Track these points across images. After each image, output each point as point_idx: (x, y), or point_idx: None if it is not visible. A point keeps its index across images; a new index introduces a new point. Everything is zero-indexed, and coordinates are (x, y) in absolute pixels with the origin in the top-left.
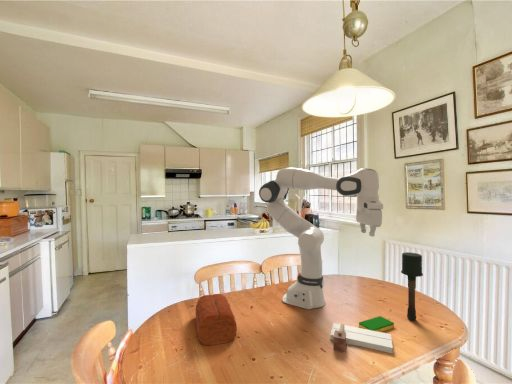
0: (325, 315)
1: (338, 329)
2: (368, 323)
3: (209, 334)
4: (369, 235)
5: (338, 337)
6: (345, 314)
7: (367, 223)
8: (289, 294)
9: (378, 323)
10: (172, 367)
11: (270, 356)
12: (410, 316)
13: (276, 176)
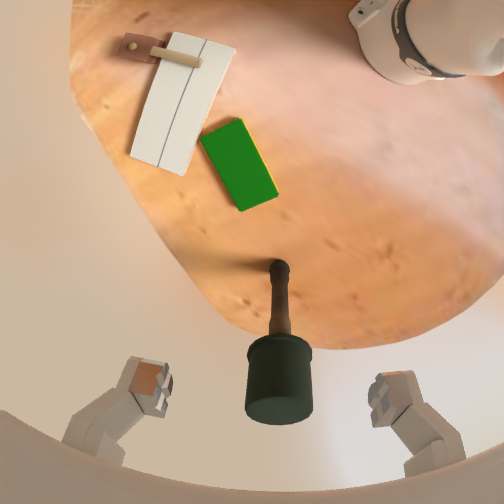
0: (310, 48)
1: (198, 53)
2: (233, 142)
3: None
4: (157, 361)
5: (122, 42)
6: (316, 108)
7: (95, 481)
8: None
9: (234, 170)
10: None
11: None
12: (273, 266)
13: None
